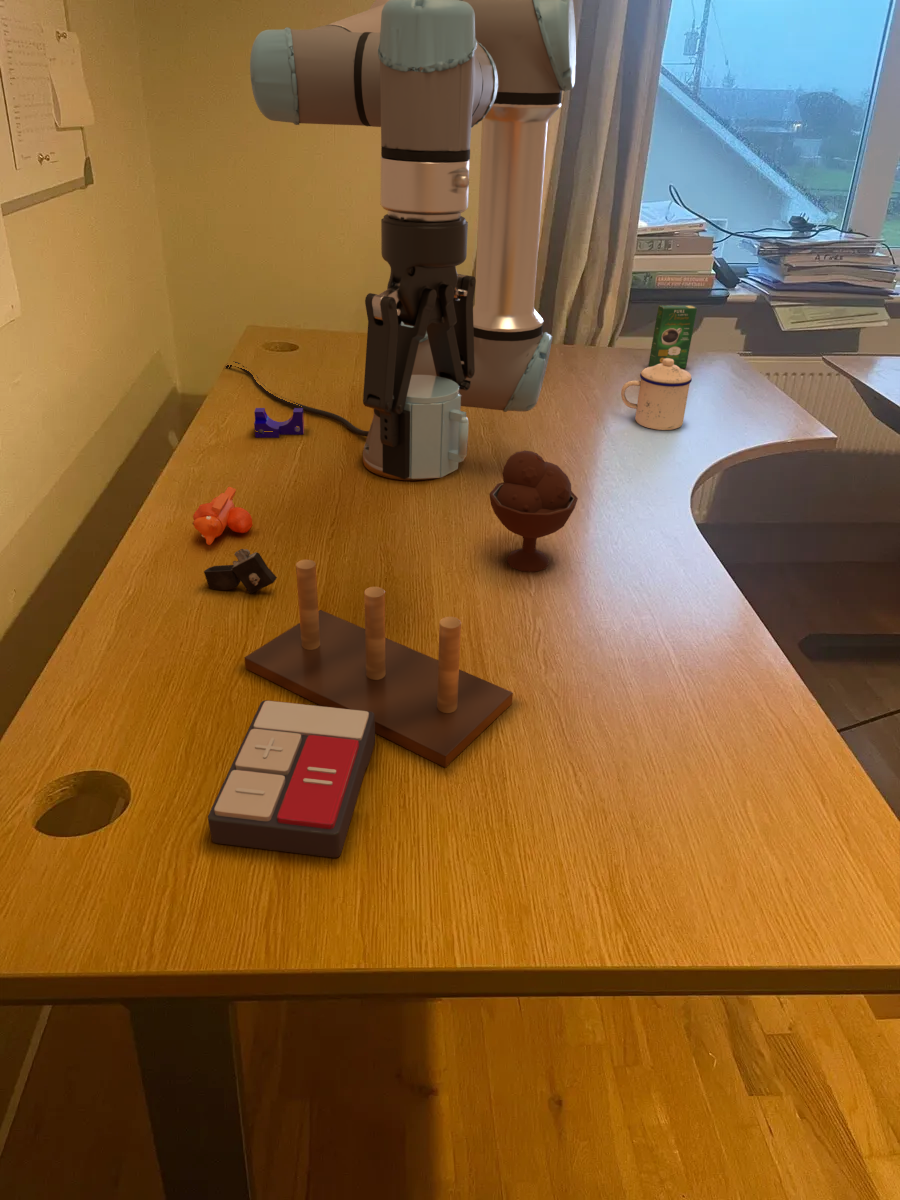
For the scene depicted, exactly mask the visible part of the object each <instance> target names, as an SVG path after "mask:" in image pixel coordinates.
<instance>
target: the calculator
mask: <svg viewBox="0 0 900 1200" xmlns="http://www.w3.org/2000/svg"><path fill="white" fill-rule="evenodd" d="M375 744H376V733H375V716H374V713H373V712H370V711H361V710H352V709H343V708H333V707H324V706H320V705H313V704H305V703H295V702H286V701H276V700H262V701H261V702H260V704H259V706H258V708H257V710H256V712H255V714H254V716H253V719H252V720H251V723H250V725H249V727H248V729H247V731H246V733H245V736H244V737H243V740H242V742H241V744H240V746H239V749H238V751H237V753H236V755H235V757H234V759H233V761H232V763H231V765H230V768H229V770H228V772H227V774H226V776H225V778H224V781H223V783H222V785H221V787H220V789H219V791H218V794H217V795H216V797H215V800H214V803H213V805H212V807H211V809H210V811H209V813H208V816H207V821H208V826H209V831H210V837H211V840H212V841H211V842H213V843H214V844H221V845H227V846H235V847H244V848H251V849H252V848H253V849H261V850H268V851H278V852H283V853H284V852H285V853H294V854H301V855H308V856H309V855H310V856H318V857H327V858H332V859H333V858H338V857H340V856H341V855H342V851H343V849H344V845H345V842H346V838H347V835H348V831H349V828H350V824H351V821H352V817H353V814H354V811H355V807H356V803H357V800H358V796H359V794H360V791H361V787H362V783H363V780H364V777H365V773H366V769H367V768H368V767H369V764H370V761H371V757H372V754H373V752H374V751H373V750H374V747H375Z"/></svg>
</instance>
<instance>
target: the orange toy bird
mask: <svg viewBox="0 0 900 1200" xmlns="http://www.w3.org/2000/svg"><path fill="white" fill-rule="evenodd" d="M236 491H237V489H236V488H234V487H231V486H228V487H227V488H226V489H225V491H224V493H223V492H221V493H220V494H219V495H218V496H215V497H214V498H212V500H211V502H207V503H202V504H200V505H198V508H196V510H195V512H194V513H193V514H192V518H193V522H192V525H193V527H194V529H196V530H197V531H198V532H199V534H201V537H202V538H203V539H204V540H205V543H206V544H207V545H208V546H211V545H212V544H213V543H214V541H215V539H216V538H218V537H220V536H221V535H223V532H224V531H225V529H226V528H227V527H228V528H229V529H230V530H231V531H233V532H235V533H239V534H246V533H248V532H249V531H250V530H251V529H252V527H253V518H252V515H251V514H250V512H248V510H246V509H245V508H243V507H240V506H235V503H234V502H233V498H234V497H235V495H236Z"/></svg>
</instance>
